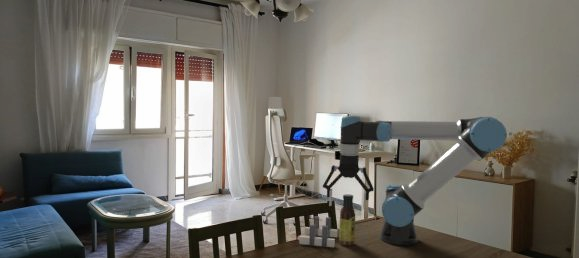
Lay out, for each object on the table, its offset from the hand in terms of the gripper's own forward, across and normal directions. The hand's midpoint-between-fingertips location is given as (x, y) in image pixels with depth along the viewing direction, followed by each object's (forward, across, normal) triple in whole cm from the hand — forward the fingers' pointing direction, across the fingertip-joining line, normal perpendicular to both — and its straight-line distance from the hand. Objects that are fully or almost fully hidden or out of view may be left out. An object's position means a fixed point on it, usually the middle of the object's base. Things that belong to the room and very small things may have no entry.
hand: (347, 206), depth 160 cm
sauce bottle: (+15, 0, 0) cm, 15 cm away
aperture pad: (+15, +16, -1) cm, 22 cm away
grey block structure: (+15, +11, -1) cm, 19 cm away
